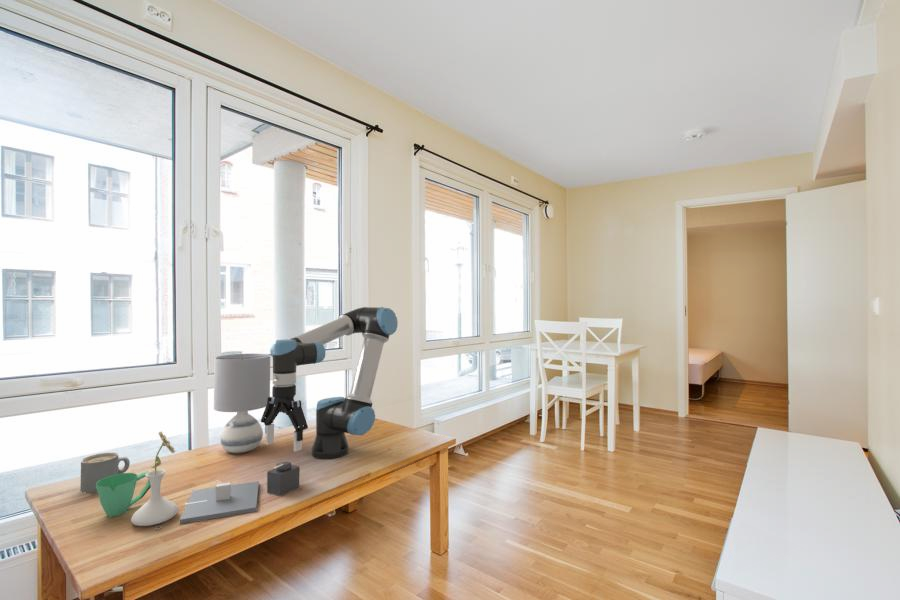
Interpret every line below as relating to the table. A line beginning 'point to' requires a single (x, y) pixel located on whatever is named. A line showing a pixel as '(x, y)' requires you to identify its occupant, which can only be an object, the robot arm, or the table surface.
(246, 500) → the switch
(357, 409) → the robot arm
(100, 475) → the coffee mug
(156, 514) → the flower in vase
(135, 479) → the mug
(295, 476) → the knob
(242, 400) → the lamp
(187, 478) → the table surface
